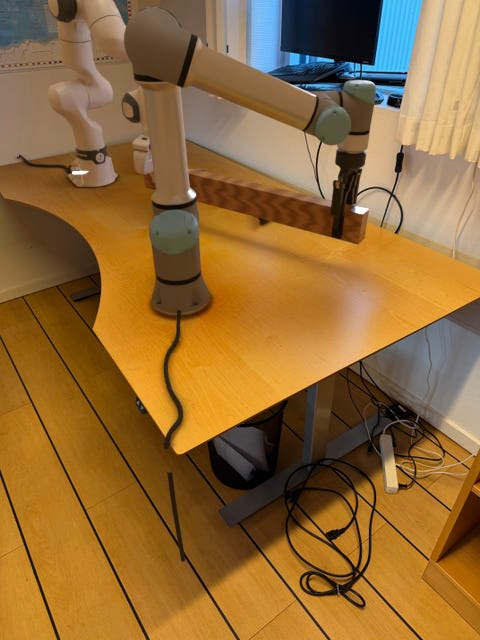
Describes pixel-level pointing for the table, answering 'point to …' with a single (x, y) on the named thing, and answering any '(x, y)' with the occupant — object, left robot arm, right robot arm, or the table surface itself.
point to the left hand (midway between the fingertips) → (161, 179)
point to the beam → (274, 204)
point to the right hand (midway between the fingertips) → (340, 233)
